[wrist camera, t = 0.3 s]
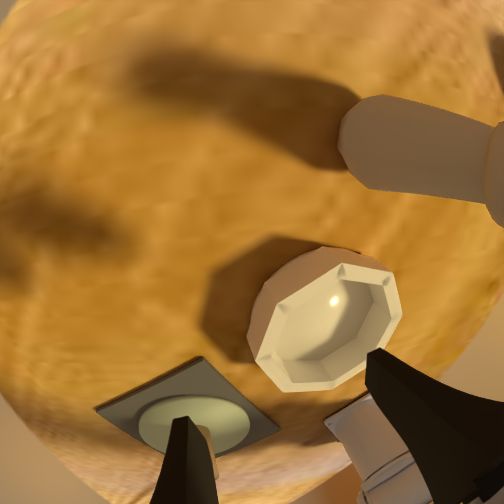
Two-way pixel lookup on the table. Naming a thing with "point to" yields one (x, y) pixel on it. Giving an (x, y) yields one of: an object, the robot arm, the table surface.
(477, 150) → the salt shaker
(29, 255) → the table surface
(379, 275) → the bowl
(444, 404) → the robot arm
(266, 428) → the mat
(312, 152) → the table surface
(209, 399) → the lid
